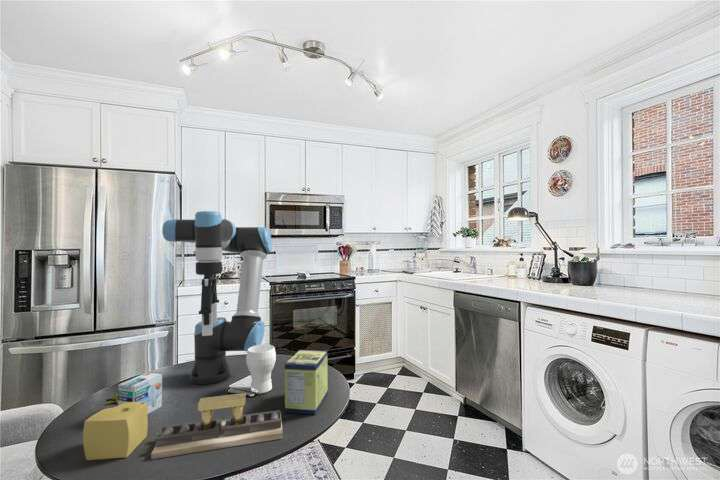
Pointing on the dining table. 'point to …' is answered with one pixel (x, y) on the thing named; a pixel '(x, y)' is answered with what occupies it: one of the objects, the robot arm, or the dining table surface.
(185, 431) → the chain jig
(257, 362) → the cup
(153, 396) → the light bulb box
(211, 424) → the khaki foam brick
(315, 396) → the protein box
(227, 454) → the dining table surface
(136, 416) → the cheese
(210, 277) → the robot arm
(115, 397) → the red green plant
